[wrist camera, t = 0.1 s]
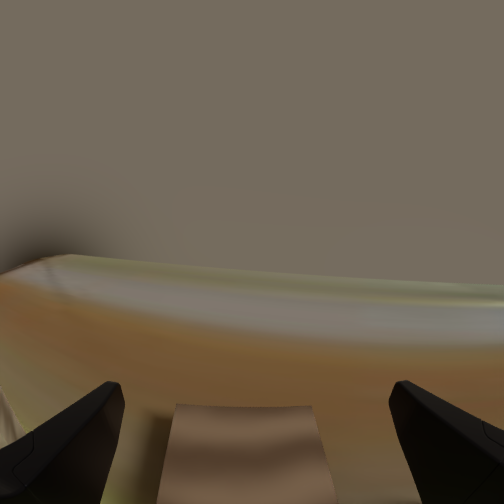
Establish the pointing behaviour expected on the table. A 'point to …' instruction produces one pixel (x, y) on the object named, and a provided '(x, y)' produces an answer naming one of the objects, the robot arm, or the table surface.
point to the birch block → (8, 423)
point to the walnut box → (245, 457)
